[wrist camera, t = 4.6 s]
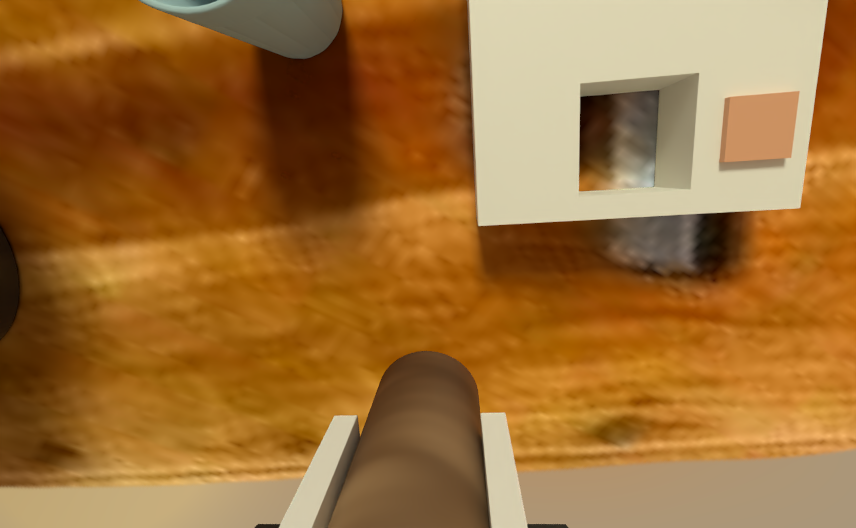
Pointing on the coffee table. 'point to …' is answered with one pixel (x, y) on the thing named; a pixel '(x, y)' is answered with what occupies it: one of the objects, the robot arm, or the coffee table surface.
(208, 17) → the cup
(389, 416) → the dowel
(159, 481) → the coffee table surface
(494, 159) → the socket board
